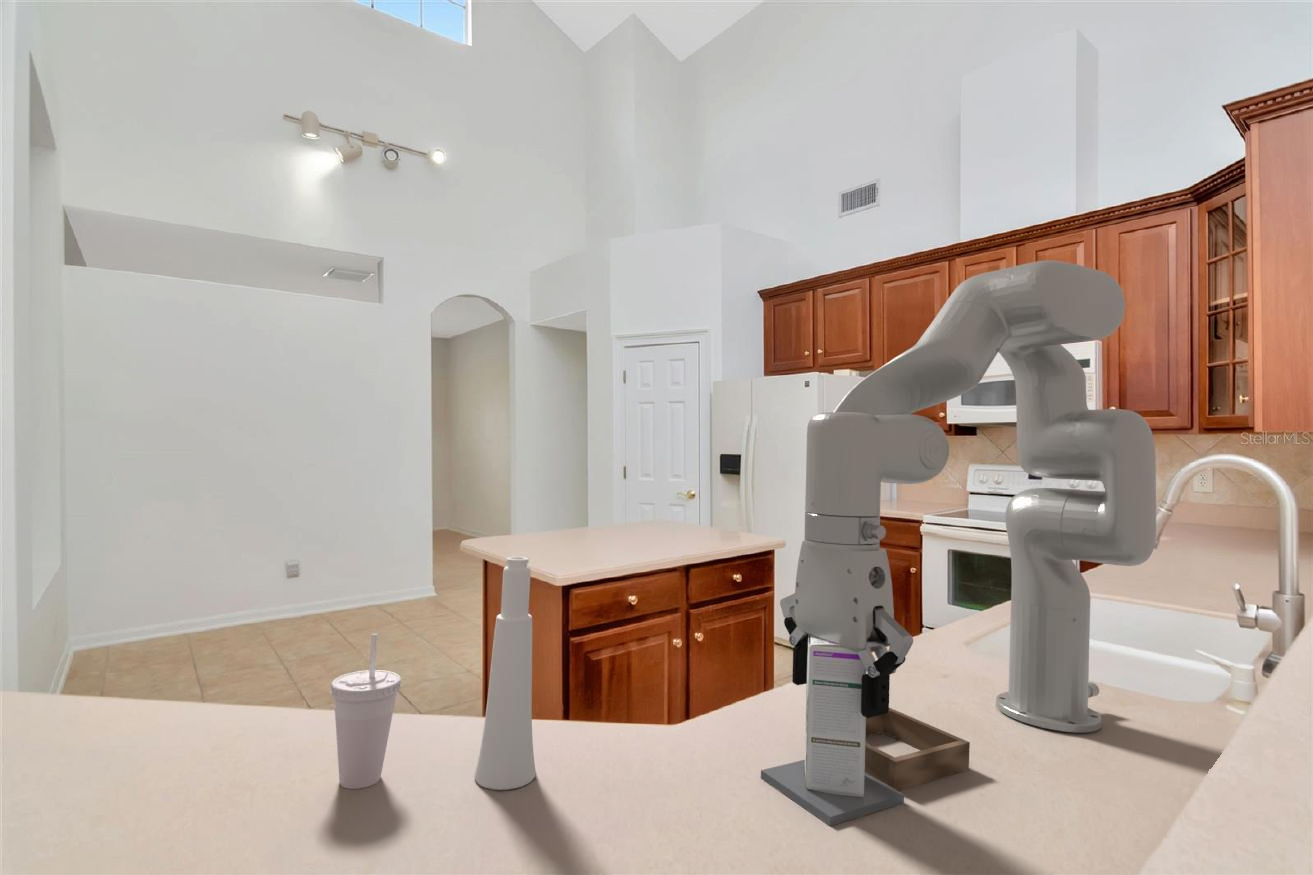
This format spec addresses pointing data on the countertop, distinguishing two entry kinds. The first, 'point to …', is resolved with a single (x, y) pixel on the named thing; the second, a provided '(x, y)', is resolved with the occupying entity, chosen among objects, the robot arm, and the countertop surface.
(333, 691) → the smoothie
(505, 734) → the cosmetic bottle
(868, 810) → the plate
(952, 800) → the countertop surface
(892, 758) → the brown wooden square frame
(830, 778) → the syrup box
